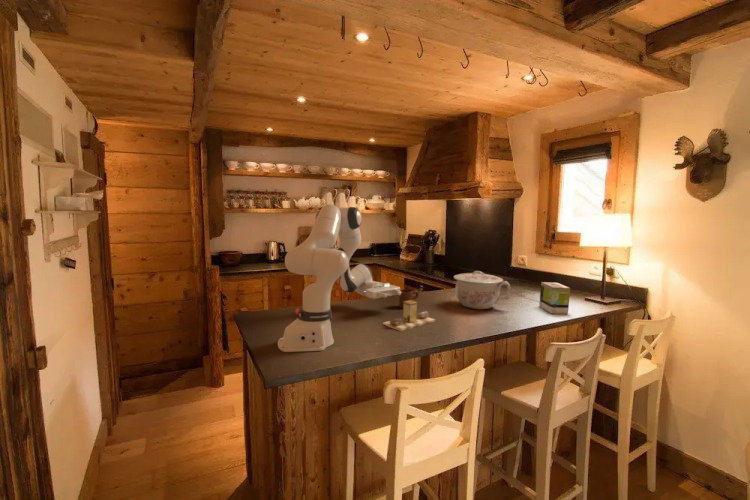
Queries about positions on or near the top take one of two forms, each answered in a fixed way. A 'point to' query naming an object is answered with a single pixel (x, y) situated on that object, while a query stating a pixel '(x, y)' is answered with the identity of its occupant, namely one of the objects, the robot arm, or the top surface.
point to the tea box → (554, 297)
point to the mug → (407, 296)
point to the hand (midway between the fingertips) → (393, 294)
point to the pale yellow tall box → (410, 311)
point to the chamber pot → (479, 289)
